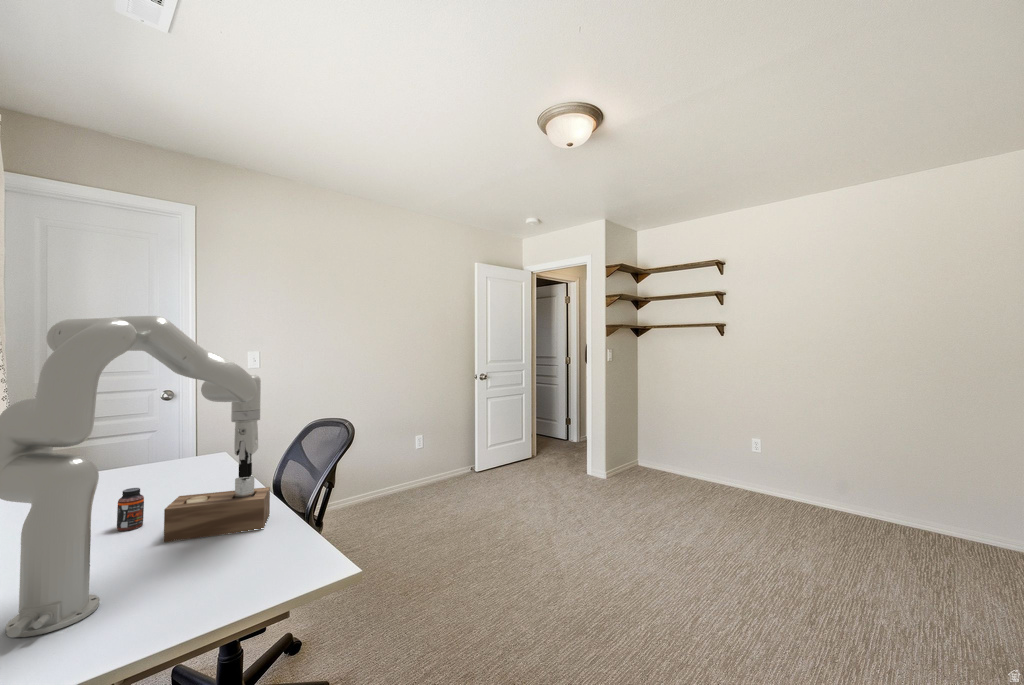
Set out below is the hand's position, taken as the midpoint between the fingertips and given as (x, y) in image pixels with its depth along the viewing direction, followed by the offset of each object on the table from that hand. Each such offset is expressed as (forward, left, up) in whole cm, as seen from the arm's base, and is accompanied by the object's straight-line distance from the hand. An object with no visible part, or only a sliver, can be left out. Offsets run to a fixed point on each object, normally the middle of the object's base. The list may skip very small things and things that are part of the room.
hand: (245, 476), depth 132 cm
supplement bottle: (+10, +31, -15) cm, 36 cm away
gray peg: (0, 0, -9) cm, 9 cm away
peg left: (0, +12, -14) cm, 19 cm away
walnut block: (0, +6, -15) cm, 16 cm away
